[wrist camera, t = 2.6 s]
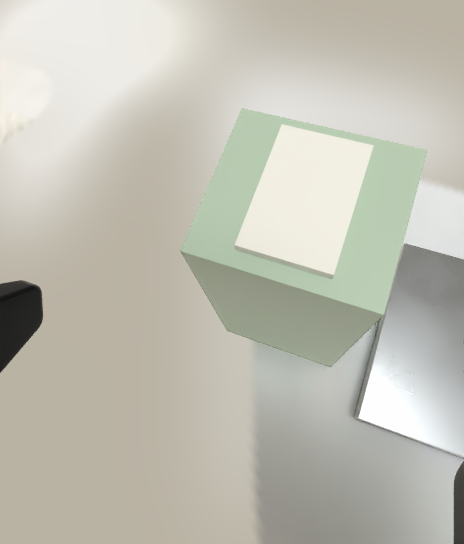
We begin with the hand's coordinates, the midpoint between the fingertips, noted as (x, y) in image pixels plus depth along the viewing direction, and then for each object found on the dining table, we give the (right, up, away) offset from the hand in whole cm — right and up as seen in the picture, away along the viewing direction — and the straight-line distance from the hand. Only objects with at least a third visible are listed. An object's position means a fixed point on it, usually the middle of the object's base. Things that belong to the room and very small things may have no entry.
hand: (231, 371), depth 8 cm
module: (+3, 0, +12) cm, 12 cm away
